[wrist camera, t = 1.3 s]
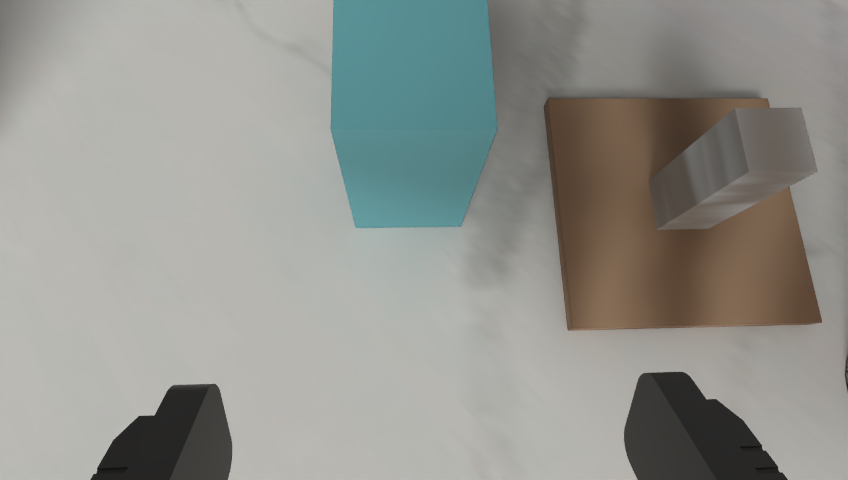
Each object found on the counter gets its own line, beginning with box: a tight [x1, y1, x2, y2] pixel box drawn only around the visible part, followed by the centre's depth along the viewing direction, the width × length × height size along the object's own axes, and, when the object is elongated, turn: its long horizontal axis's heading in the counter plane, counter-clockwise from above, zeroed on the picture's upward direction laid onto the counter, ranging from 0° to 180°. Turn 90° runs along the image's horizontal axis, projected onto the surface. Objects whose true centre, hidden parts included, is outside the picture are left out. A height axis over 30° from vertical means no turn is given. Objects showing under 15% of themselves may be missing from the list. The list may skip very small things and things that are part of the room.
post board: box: [544, 99, 822, 330], centre depth 23 cm, size 12×12×8 cm
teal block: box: [331, 0, 497, 228], centre depth 22 cm, size 5×5×10 cm
